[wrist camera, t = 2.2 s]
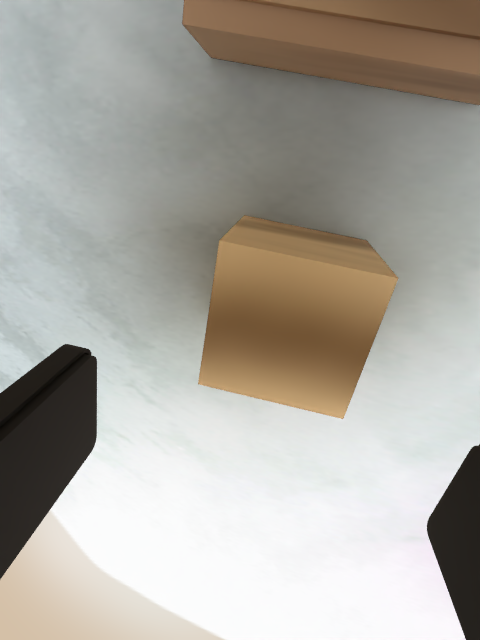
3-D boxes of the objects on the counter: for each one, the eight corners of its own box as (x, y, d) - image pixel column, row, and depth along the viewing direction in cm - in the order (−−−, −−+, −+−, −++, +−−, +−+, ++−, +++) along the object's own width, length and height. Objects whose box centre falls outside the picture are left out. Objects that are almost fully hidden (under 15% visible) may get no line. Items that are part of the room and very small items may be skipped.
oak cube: (244, 215, 17) (219, 240, 12) (366, 240, 17) (398, 278, 11) (225, 322, 20) (198, 384, 14) (330, 346, 19) (343, 418, 14)
